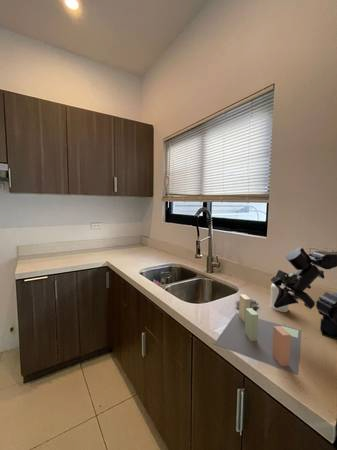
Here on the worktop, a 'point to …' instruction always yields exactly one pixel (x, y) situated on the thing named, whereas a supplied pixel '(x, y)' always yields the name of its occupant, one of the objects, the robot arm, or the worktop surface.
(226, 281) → the worktop surface
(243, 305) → the sand tile
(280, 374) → the worktop surface
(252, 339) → the sage tile
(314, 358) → the worktop surface
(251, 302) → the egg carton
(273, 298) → the pill bottle
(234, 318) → the mat
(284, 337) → the terracotta tile
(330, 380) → the worktop surface
